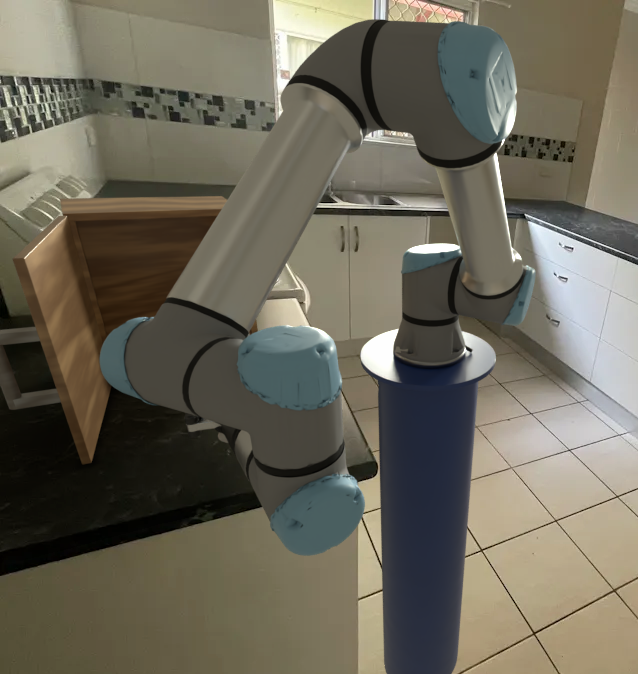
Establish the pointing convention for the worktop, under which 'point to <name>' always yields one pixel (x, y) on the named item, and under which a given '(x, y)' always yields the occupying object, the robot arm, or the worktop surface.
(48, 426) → the worktop surface
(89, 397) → the cabinet door
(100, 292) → the cabinet
